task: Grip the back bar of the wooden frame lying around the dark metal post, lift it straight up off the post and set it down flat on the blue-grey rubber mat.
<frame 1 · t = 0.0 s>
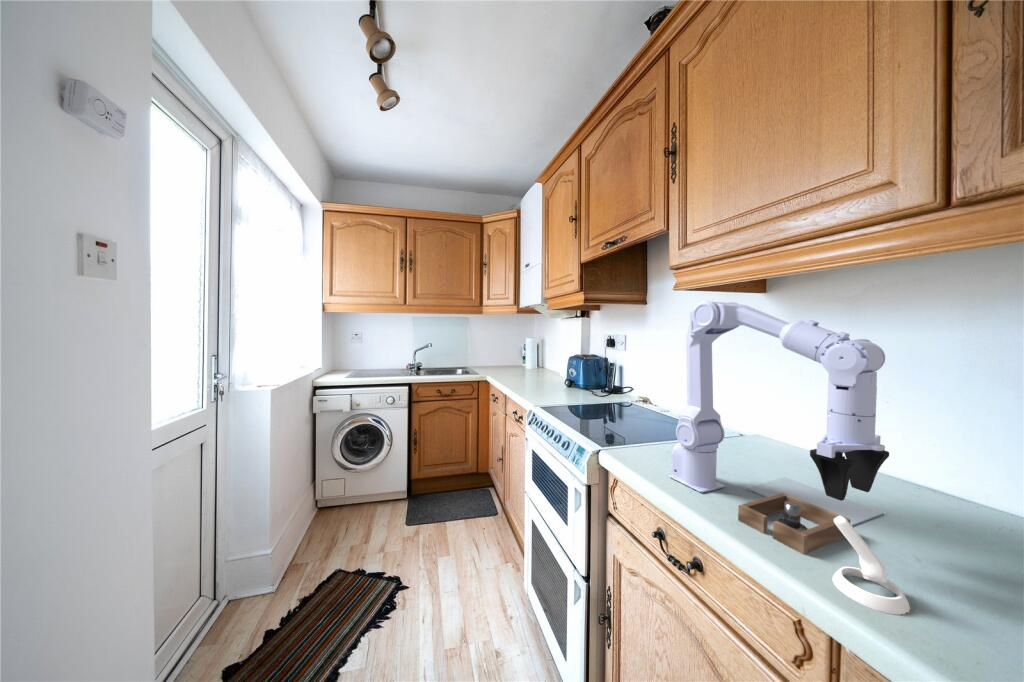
hand: (847, 493, 57), 10 cm above the worktop, tool pointing down, fingers open, 7 cm apart
post: (791, 527, 65), on the worktop
mat: (809, 500, 75), on the worktop
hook: (868, 594, 49), on the worktop
wooden frame: (791, 527, 65), on the worktop
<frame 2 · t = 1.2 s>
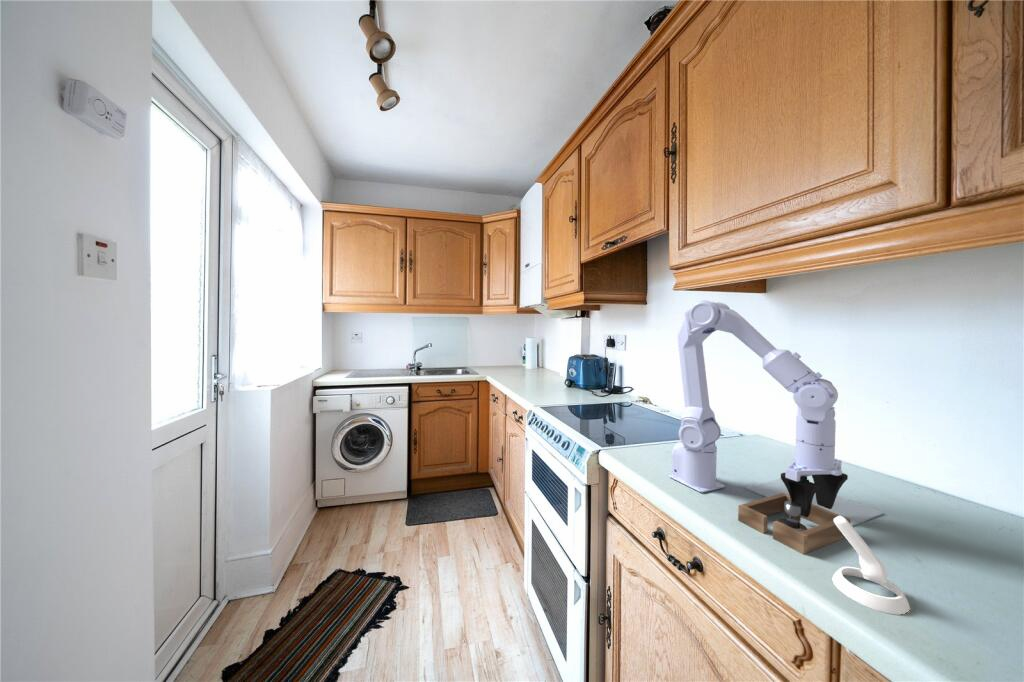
hand: (813, 510, 67), 2 cm above the worktop, tool pointing down, fingers open, 7 cm apart
nothing on the worktop moved.
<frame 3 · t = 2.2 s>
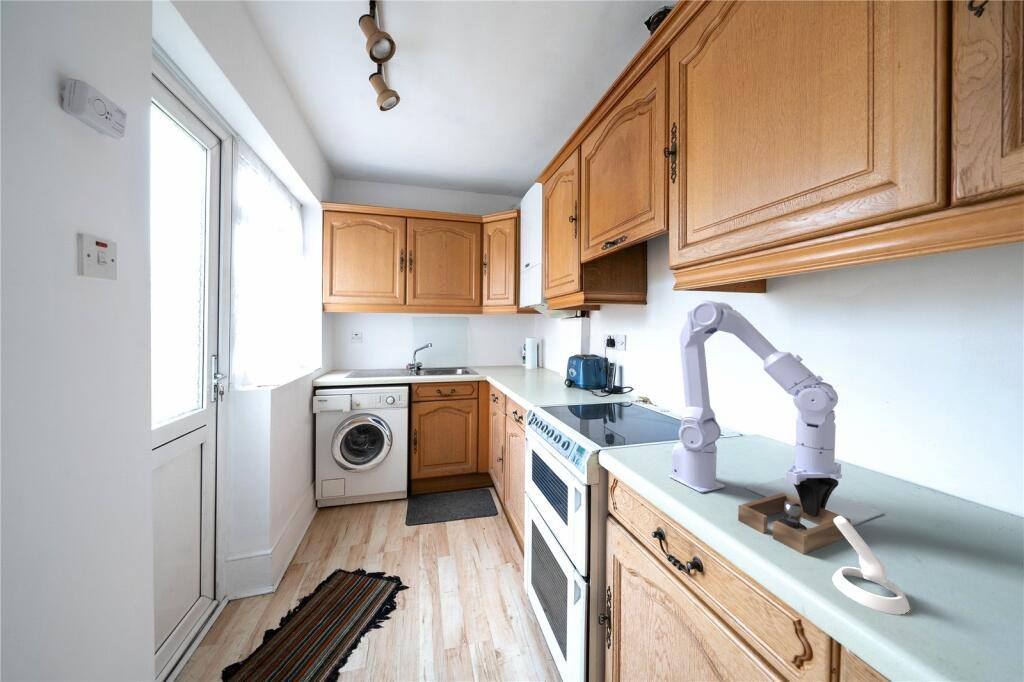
hand: (812, 513, 67), 1 cm above the worktop, tool pointing down, fingers closed on wooden frame
wooden frame: (791, 527, 65), on the worktop, touching gripper
everything else where it was.
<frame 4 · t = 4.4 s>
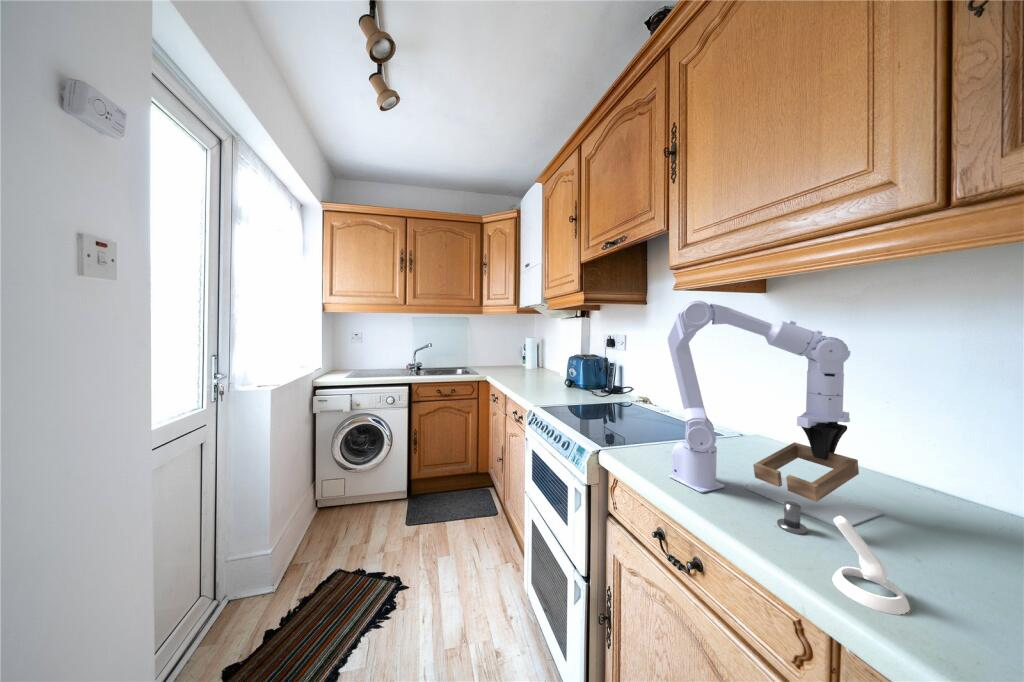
hand: (822, 457, 72), 10 cm above the worktop, tool pointing down, fingers closed on wooden frame
wooden frame: (804, 475, 70), point 7 cm above the worktop, tilted 13°, touching gripper
everything else where it was.
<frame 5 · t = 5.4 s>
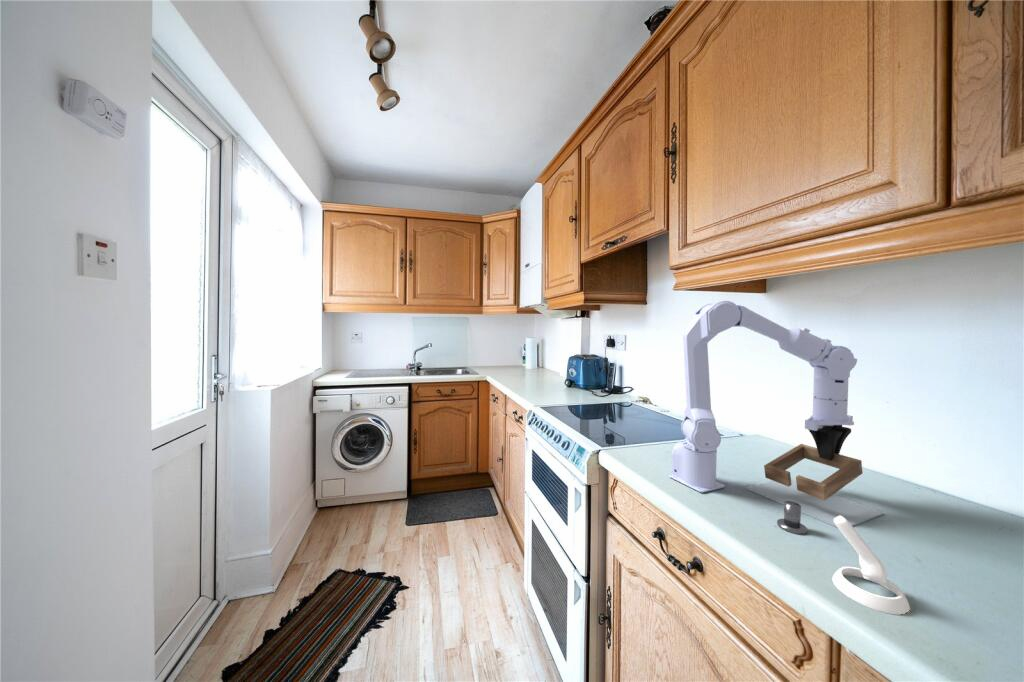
hand: (828, 458, 77), 8 cm above the worktop, tool pointing down, fingers closed on wooden frame
wooden frame: (812, 475, 75), point 5 cm above the worktop, tilted 14°, touching gripper
everything else where it was.
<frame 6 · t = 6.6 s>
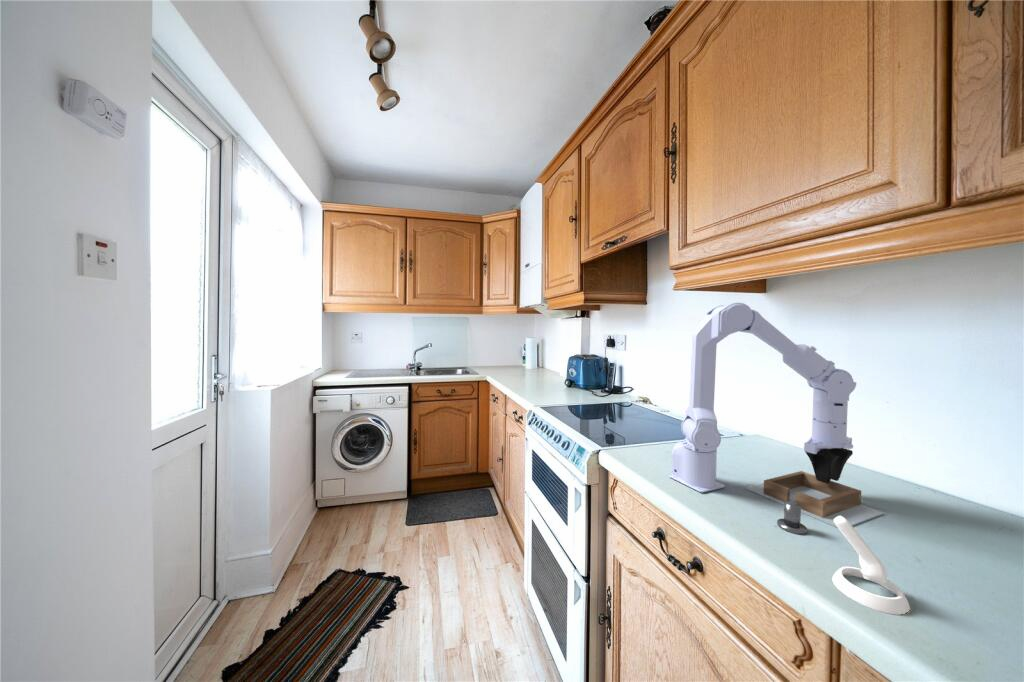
hand: (827, 480, 78), 3 cm above the worktop, tool pointing down, fingers open, 3 cm apart
wooden frame: (810, 498, 75), resting on mat
everything else where it was.
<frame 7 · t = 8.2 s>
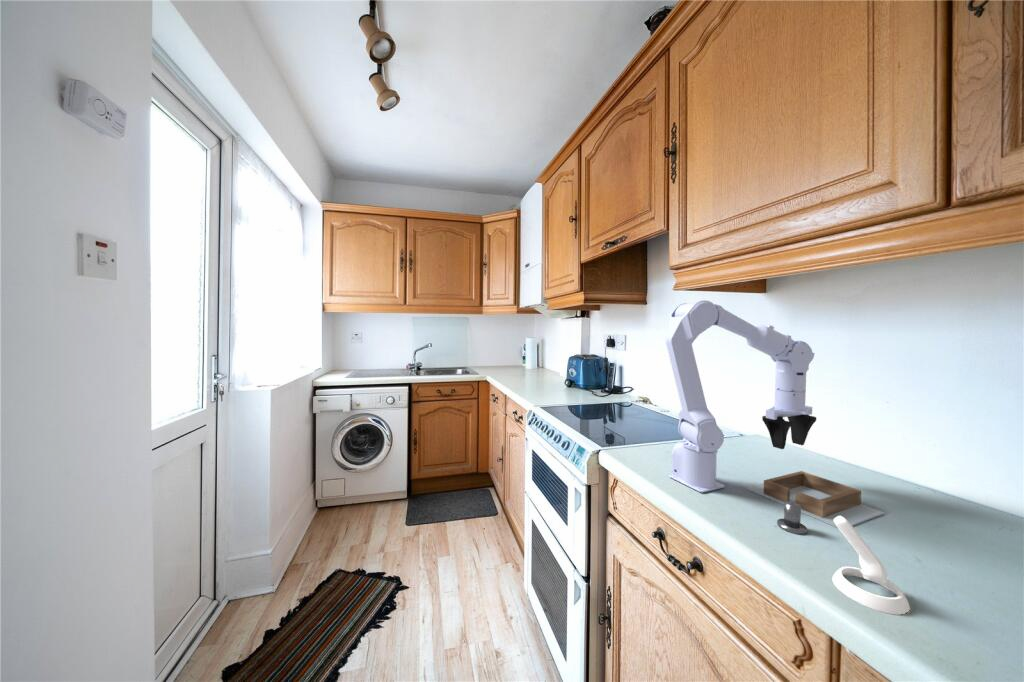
hand: (788, 445, 83), 9 cm above the worktop, tool pointing down, fingers open, 7 cm apart
nothing on the worktop moved.
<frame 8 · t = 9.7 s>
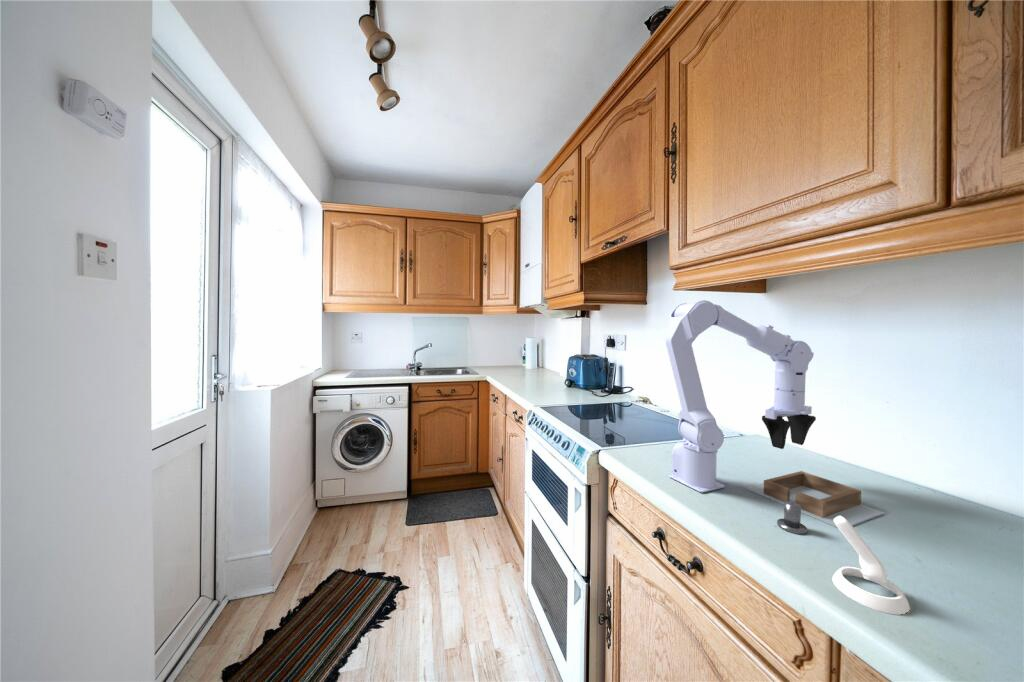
hand: (787, 445, 83), 9 cm above the worktop, tool pointing down, fingers open, 7 cm apart
nothing on the worktop moved.
at the end: wooden frame inside the target area (0.3 cm from its centre), resting on mat; wooden frame touching mat; wooden frame tilted 0° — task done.
